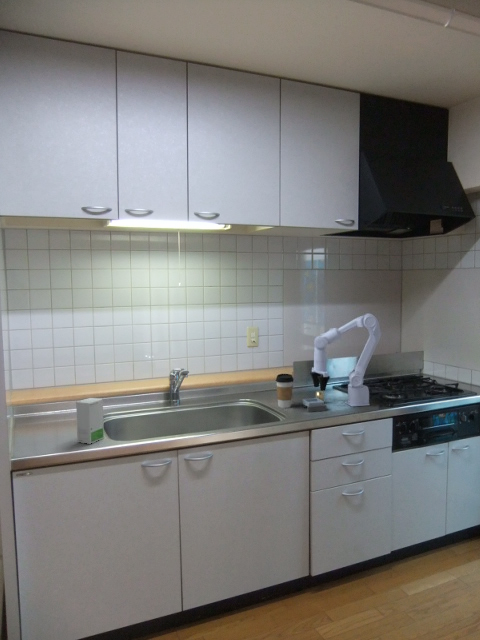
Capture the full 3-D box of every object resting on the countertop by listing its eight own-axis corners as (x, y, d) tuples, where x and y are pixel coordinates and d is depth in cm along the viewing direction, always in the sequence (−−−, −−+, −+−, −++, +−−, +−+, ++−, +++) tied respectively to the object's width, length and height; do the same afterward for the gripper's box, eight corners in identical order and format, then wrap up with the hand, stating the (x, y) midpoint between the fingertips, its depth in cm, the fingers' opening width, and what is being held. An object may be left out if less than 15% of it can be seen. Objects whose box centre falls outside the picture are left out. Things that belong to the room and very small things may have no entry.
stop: (325, 409, 222) (325, 404, 222) (326, 410, 221) (326, 405, 221) (307, 411, 220) (307, 406, 219) (308, 412, 219) (308, 406, 218)
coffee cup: (294, 404, 231) (294, 373, 230) (291, 409, 223) (291, 377, 222) (277, 403, 234) (277, 373, 232) (274, 408, 226) (274, 376, 224)
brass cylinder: (321, 401, 236) (321, 390, 236) (324, 403, 233) (324, 392, 232) (314, 402, 236) (314, 391, 235) (317, 404, 232) (317, 393, 231)
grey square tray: (317, 405, 229) (317, 398, 229) (323, 409, 222) (324, 401, 221) (302, 406, 227) (302, 399, 227) (308, 411, 220) (308, 403, 219)
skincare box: (90, 445, 177) (88, 403, 176) (76, 442, 180) (74, 401, 179) (105, 438, 185) (103, 398, 184) (91, 435, 188) (90, 396, 186)
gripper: (306, 358, 238) (306, 385, 239) (318, 364, 224) (318, 392, 226) (319, 358, 240) (319, 385, 241) (332, 363, 226) (331, 391, 227)
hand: (319, 388), depth 234 cm, fingers open, 7 cm apart
